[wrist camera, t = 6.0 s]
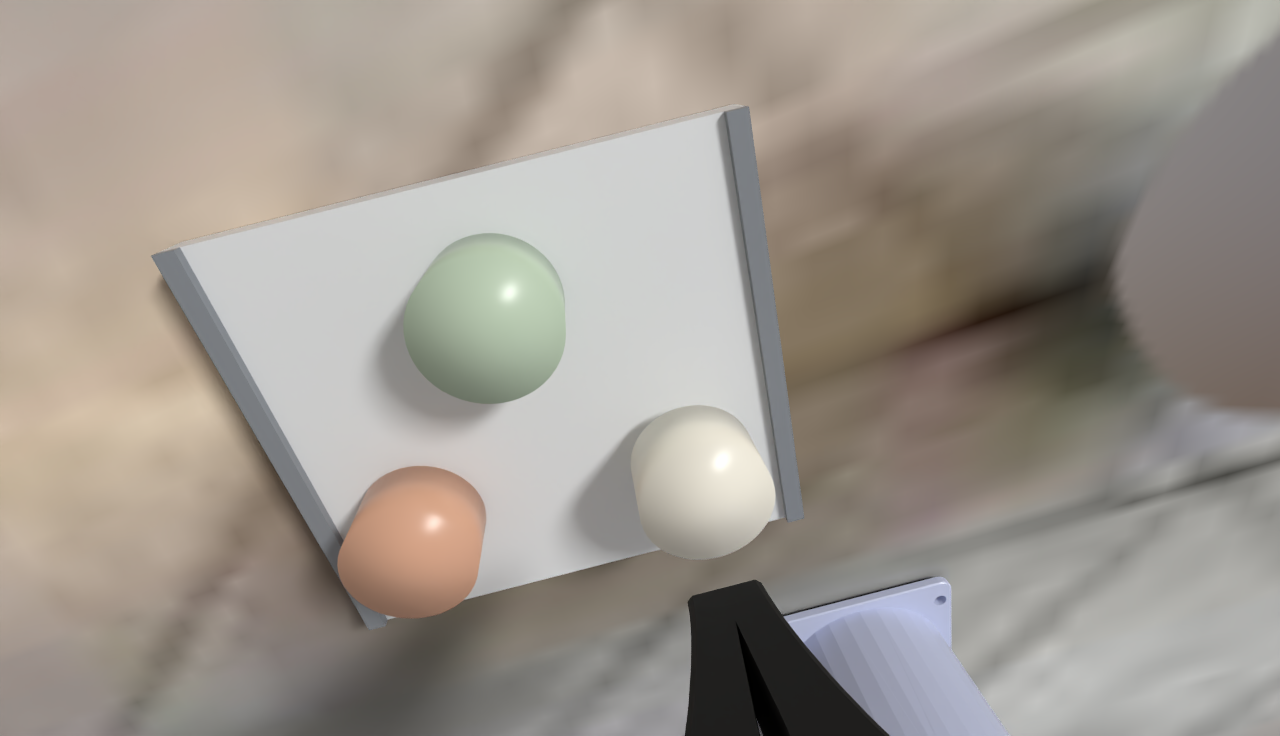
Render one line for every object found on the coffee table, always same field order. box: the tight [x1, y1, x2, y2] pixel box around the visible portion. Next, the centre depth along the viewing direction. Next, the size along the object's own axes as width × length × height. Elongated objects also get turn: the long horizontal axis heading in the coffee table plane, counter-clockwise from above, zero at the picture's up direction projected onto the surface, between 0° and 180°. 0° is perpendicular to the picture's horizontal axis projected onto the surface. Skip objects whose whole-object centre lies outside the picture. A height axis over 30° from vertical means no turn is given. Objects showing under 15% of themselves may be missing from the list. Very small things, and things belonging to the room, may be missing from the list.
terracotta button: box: [337, 466, 486, 618], centre depth 20 cm, size 4×4×2 cm
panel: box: [151, 104, 804, 630], centre depth 20 cm, size 14×16×2 cm
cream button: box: [631, 405, 775, 560], centre depth 19 cm, size 4×4×2 cm
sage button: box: [403, 233, 566, 404], centre depth 17 cm, size 4×4×2 cm
